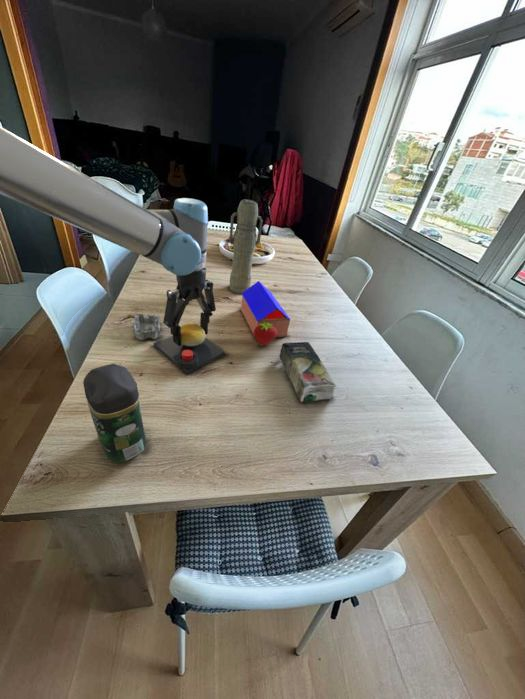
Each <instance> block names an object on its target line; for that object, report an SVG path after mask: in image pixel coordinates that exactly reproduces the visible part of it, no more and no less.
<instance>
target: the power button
mask: <svg viewBox="0 0 525 699" xmlns="http://www.w3.org/2000/svg"><path fill="white" fill-rule="evenodd" d="M182 359H183V360H184V361H191V360H192V359H193V352H192V351H191V350H184V351H183V352H182Z"/></svg>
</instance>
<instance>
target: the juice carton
mask: <svg viewBox="0 0 525 699" xmlns="http://www.w3.org/2000/svg"><path fill="white" fill-rule="evenodd" d="M279 352H280V353H279V361H280V362H281V363H282V366H283V367H284V370H285V372H286V375H287V377H288V379H289V381H290V382H291V384H292V386H293V388H294V390H295V393H296V395H297V398H298V399H299V401H300V402H301V403H310V402H311V403H312V402H315V401H321V400H331V399H332V396H333V394H334V392H335V389H336V387H337V385H336V383H335V382H334V380H333V378H332V376H331V375H330V373H329V371H328V370H327V367H326V366H325V365H324V363H323V362H322V360H321V358H320V357H319V355H318V353H317V352H316V351H315V349H314V348H313V346H312V345H311V343H310V342H309V341H299V342H298V341H297V342H283V343H282V344H281V349H280V351H279Z"/></svg>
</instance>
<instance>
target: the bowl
mask: <svg viewBox="0 0 525 699" xmlns="http://www.w3.org/2000/svg"><path fill="white" fill-rule="evenodd" d="M233 237H234V234H232V239H233ZM218 248H219V250H220V253H221V254H222V255H223V256H224V257H225V258H227V259H229V260H231V259H232V260H231V261H233V253H234V249H233V242H231V241H230V235H229V237H228V238H225V239H223V240H221V241H220V242H219V247H218ZM275 252H276V251H275V249H274V248H273V247H272V246H271V245H269V244H268V243H265V242H262V241H260V243H259V244H258V245H256V246H255V251H254V253H253V259H252V265H262V264H266V263H268V262H270V261H271V260H272V259H273V258H274V256H275Z"/></svg>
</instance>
